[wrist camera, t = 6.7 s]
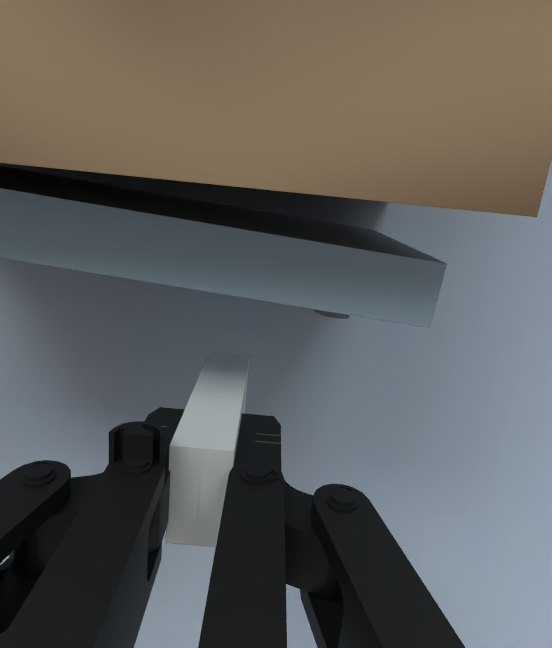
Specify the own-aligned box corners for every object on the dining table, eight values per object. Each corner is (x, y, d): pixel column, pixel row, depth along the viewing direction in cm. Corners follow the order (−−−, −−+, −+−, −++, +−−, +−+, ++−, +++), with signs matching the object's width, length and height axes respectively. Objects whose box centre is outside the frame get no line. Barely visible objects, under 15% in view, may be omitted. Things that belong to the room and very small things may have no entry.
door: (-61, 155, 19) (-347, 129, 10) (372, 229, 20) (446, 264, 11) (-59, 220, 20) (-325, 247, 11) (359, 289, 20) (419, 365, 12)
